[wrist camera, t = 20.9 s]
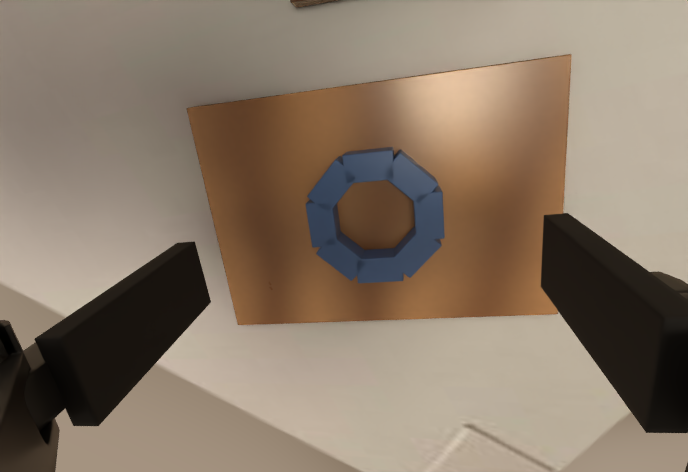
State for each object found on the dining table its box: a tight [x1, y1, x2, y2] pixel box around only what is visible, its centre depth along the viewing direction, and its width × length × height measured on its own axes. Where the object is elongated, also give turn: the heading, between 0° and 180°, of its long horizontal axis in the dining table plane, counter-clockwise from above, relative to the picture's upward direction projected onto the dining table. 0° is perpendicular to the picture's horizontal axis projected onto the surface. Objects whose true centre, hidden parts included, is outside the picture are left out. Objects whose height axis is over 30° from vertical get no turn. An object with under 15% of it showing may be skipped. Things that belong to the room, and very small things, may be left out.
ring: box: [306, 147, 445, 283], centre depth 22 cm, size 7×7×2 cm
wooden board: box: [187, 54, 571, 325], centre depth 23 cm, size 20×14×1 cm
